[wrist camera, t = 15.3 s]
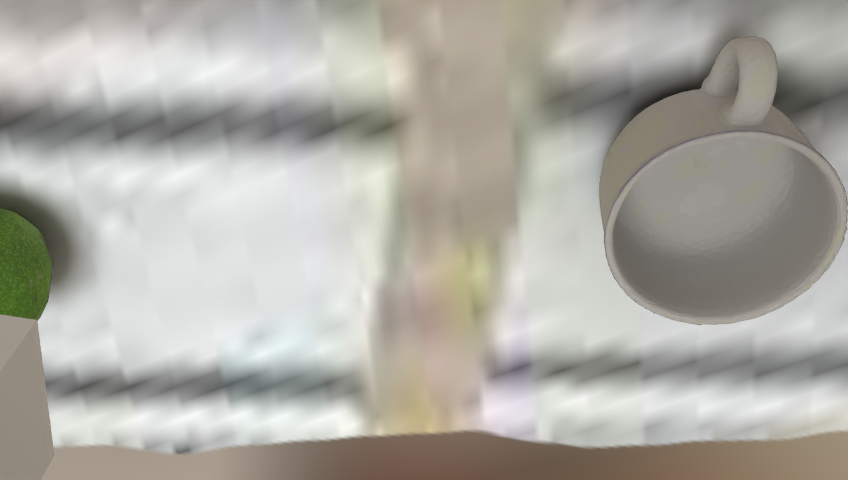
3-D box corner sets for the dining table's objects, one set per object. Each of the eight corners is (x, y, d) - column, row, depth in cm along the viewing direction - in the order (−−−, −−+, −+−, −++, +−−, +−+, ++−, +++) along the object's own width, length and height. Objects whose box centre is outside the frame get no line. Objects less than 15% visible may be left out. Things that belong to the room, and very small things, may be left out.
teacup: (736, 257, 47) (786, 346, 40) (557, 224, 46) (578, 310, 39) (850, 28, 40) (934, 90, 33) (640, -17, 39) (683, 38, 32)
